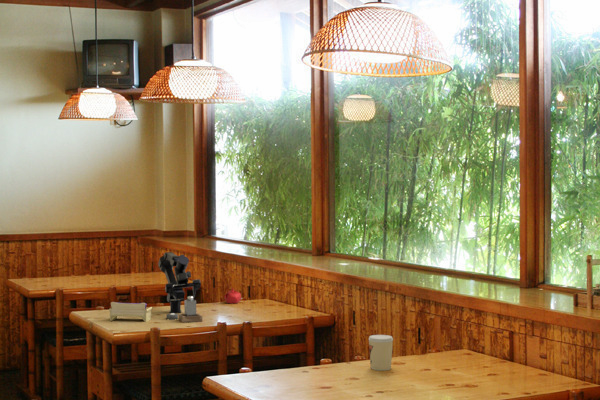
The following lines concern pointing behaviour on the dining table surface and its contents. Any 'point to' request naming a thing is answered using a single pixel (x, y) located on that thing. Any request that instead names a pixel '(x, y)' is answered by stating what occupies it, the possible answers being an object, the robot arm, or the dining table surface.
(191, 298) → the grey square bottle
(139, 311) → the toy sofa
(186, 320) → the chassis bay
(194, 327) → the dining table surface
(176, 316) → the rubber wheel
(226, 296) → the pomegranate
